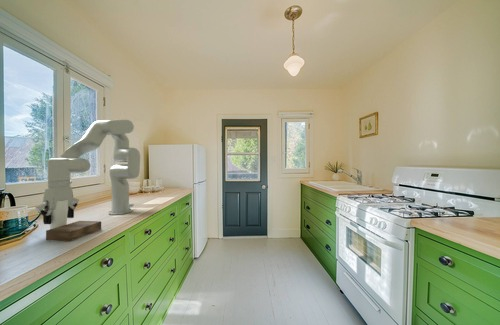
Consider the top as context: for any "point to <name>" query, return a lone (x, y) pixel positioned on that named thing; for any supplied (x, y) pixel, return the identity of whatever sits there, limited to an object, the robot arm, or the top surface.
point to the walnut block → (73, 230)
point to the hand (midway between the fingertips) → (59, 220)
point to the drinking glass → (59, 214)
